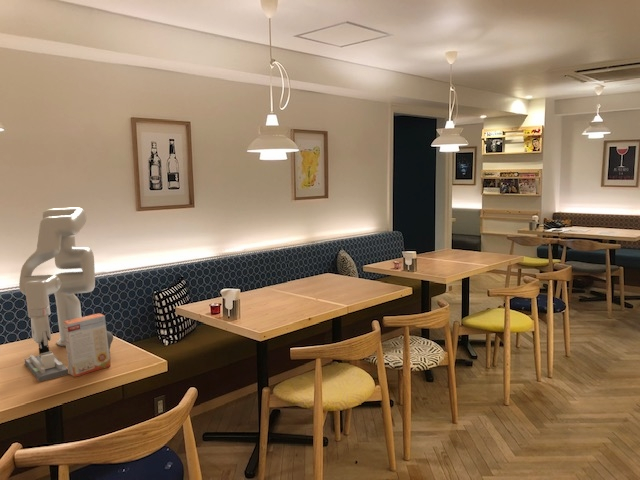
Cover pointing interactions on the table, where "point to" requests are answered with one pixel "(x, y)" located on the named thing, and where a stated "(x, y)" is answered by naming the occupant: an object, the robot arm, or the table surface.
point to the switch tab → (47, 360)
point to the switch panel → (43, 373)
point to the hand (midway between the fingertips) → (44, 357)
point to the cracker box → (86, 344)
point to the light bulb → (109, 339)
